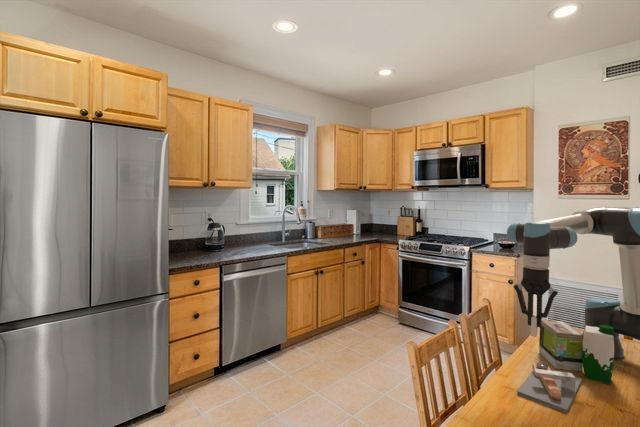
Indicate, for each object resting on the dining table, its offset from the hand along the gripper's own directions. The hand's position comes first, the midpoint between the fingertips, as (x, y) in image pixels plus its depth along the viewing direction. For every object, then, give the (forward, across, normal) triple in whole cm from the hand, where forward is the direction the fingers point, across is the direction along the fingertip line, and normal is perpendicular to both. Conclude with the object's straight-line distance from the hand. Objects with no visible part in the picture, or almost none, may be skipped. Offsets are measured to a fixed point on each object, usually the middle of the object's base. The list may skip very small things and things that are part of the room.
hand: (534, 335), depth 114 cm
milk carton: (+21, +16, +27) cm, 38 cm away
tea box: (+21, +4, +33) cm, 39 cm away
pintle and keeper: (+19, +4, +8) cm, 21 cm away
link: (+19, +4, +7) cm, 20 cm away
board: (+20, +4, +8) cm, 22 cm away
